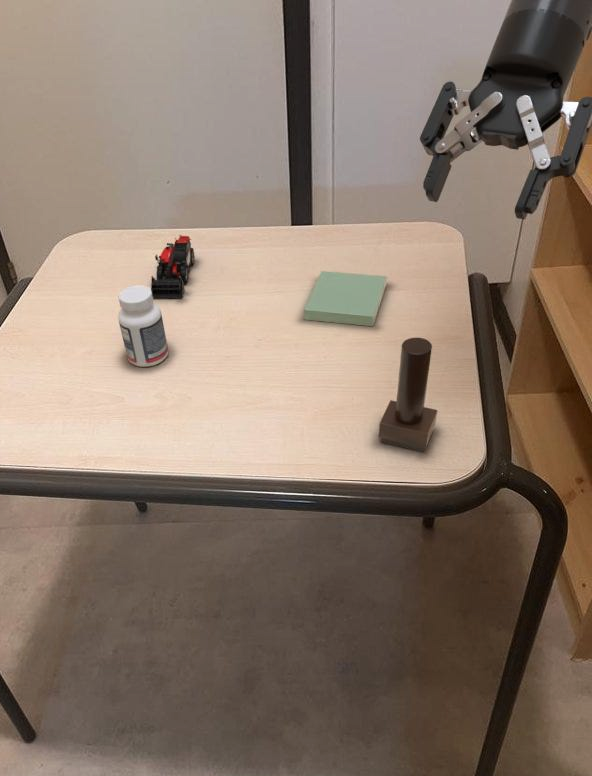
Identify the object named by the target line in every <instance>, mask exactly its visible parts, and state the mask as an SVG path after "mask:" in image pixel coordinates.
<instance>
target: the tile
mask: <svg viewBox="0 0 592 776" xmlns="http://www.w3.org/2000/svg"><path fill="white" fill-rule="evenodd" d="M387 278H388V277H387V276H386V275H373V274H365V273H364V274H363V273H350V272H349V273H348V272H337V271H326V270H321V271H320V273H319V275H318V278H317V280H316V282H315V284H314V287H313V289H312V291H311V293H310V296H309V298H308V300H307V302H306V305H305V307H304V309H303V319H304V320H306V321H316V322H328V323H334V324H335V323H336V324H344V325H346V324H347V325H357V326H366V327H374V325H375V321H376V318H377V315H378V312H379V309H380V306H381V303H382V300H383V297H384V293H385V290H386V288H387Z"/></svg>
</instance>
